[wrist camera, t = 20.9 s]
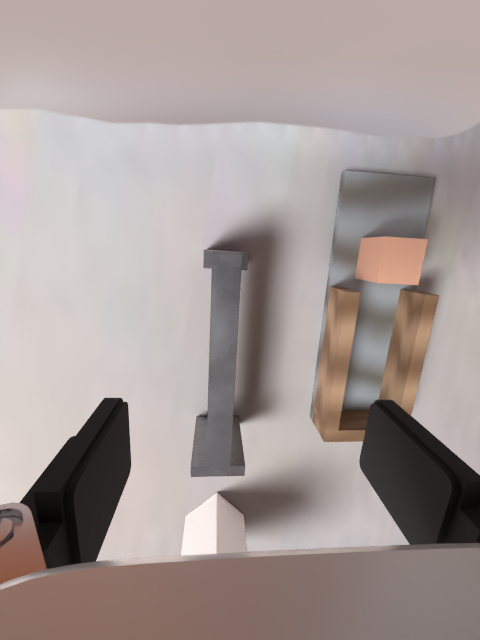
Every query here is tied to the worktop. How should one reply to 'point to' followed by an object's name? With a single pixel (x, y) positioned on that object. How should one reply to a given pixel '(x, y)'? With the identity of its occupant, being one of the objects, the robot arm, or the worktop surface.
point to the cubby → (370, 308)
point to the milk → (214, 529)
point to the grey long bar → (221, 373)
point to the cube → (391, 260)
